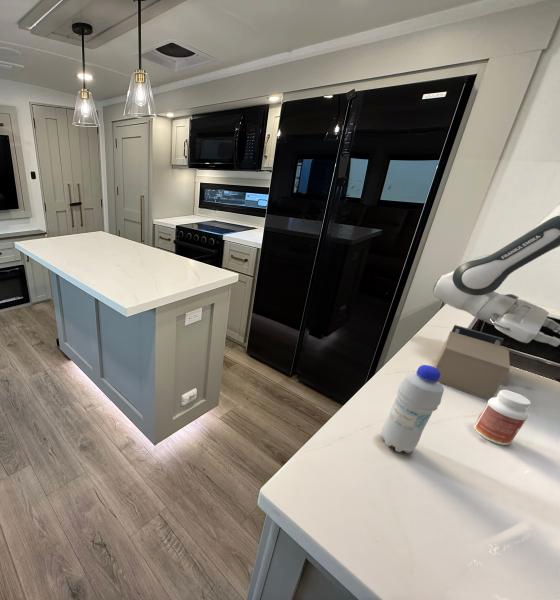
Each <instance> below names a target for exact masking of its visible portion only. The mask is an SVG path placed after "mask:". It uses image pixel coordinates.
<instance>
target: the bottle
mask: <svg viewBox="0 0 560 600" xmlns="http://www.w3.org/2000/svg"><path fill="white" fill-rule="evenodd" d="M439 378H440V372H439V370H437V369H436V368H434V366H432V365H428V364H422V365H420V366H419V367H418V368H417V369H416V372H410V373H407V374H406V376H405V377H404V378H403V380H402V381H401V382H400V384H399V385H398V389H397V391H396V393H397V394H396V395H397V396H396V398H395V400H394V403H393V405H392V407H391V409H390V412H389V414H388V416H387V418H386V419H385V421H384V422H383V424H382V426H381V430H380V438H381V440H383V441H384V444H385V445H386V446H387V447H388V448H389V447H391V446H393V447H394V450H395V452H398V453H401V452H404V453H406V454H408V453H411V452H413V451H414V450H415V448H416V447H418V444H419V442H420V439H421V436H422V434H423V432H424V430H425V427H426V425H427V424H428V422H429V420H430V418H431V417H432V414H433V413H434V412H435V411H437V410H438V408H439V406H440V405H441V402H442V398H443V396H444V391H445V389H444V386H443V385H442V383H440V382H438V380H439Z"/></svg>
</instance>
